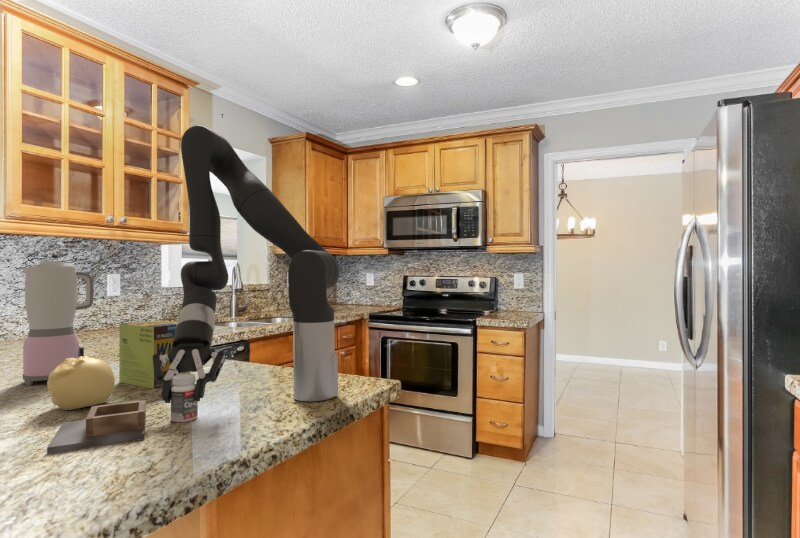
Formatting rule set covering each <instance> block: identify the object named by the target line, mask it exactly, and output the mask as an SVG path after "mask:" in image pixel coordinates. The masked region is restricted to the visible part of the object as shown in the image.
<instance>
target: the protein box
mask: <svg viewBox="0 0 800 538" xmlns="http://www.w3.org/2000/svg"><path fill="white" fill-rule="evenodd" d="M176 325H177V321H169V320H167V321H166V320H165V321H164V320H150V321H147V320H146V321H136V322H124V323H119V327H118V328H119V329H118V330H119V332H118V333H119V341H118V342H119V344H118V345H119V347H118V348H119V349H118V350H119V355H118V356H119V360H118V361H119V381H118V382H119V383H121V384H127V385H130V386H131V385H133V386H137V387H141V388H148V389H152V390H154V389H160V388H163V384H161V385H158V384H157V382H156V379H155V376H154V366H153V355H154V354H159V356H161V355H165V354H168V352H169V351H170V350H171V348H172V343H173V339H174V334H175V330H176ZM171 364H172V363H171V362H170V361H169V360H168V361H166V364H165V365H164V367H162V370H163V375H166V374H167V372H168V371H169V367H170V365H171ZM181 374H191V372H190V371H188V372H182V373H181Z"/></svg>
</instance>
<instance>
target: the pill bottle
mask: <svg viewBox="0 0 800 538" xmlns="http://www.w3.org/2000/svg"><path fill="white" fill-rule="evenodd" d="M172 383H173V386H172V388H171V400H170V420H171V422H174V423H184V422H190V421H193V420H195V419H197V418H198V414H199V413H198V412H199V411H198V408H199V407H198V405H199V403H198V402H199V401H195V397H194V394H195V388H196V374H195V373H190V374H179V375H175V376H173V382H172Z"/></svg>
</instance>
